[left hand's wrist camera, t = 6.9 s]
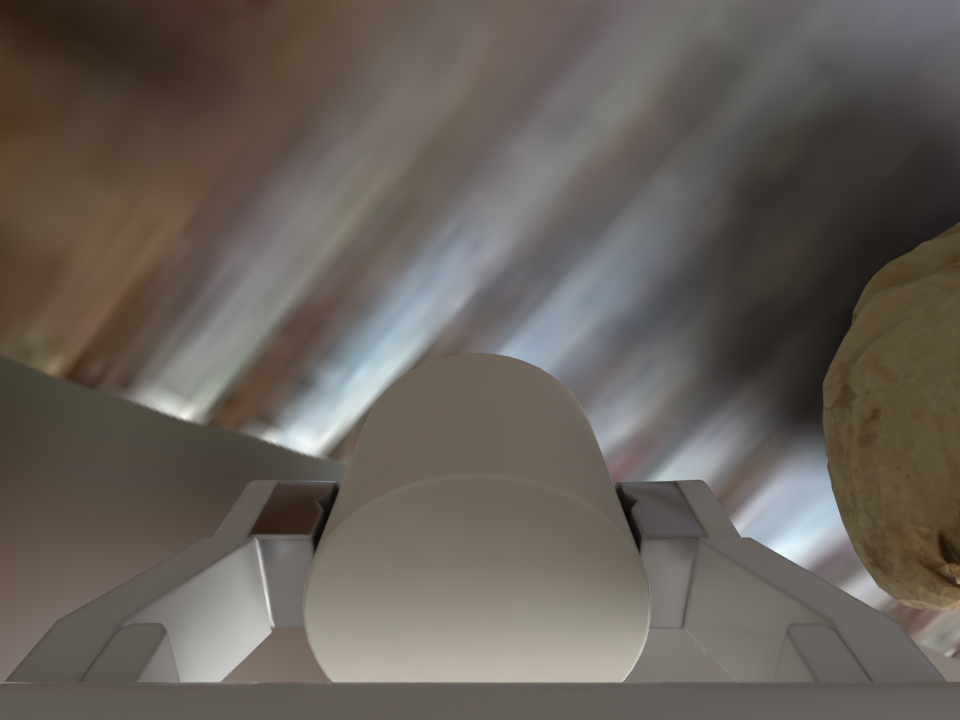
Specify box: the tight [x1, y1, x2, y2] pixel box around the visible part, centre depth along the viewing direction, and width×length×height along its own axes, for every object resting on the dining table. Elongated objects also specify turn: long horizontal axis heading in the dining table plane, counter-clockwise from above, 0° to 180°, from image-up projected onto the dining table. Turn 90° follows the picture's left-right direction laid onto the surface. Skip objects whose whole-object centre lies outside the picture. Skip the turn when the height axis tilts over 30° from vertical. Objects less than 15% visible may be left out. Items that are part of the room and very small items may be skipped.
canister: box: [302, 353, 652, 682], centre depth 10 cm, size 5×5×4 cm
